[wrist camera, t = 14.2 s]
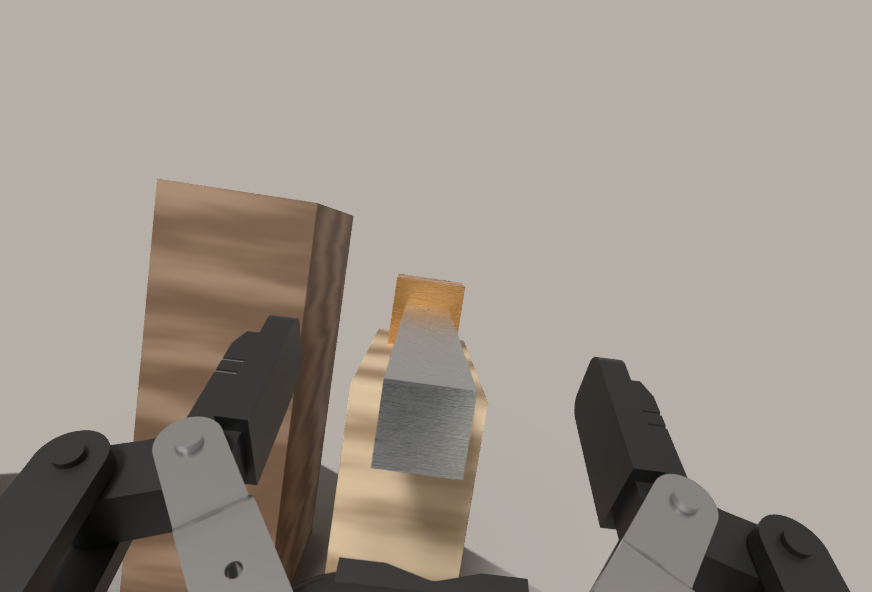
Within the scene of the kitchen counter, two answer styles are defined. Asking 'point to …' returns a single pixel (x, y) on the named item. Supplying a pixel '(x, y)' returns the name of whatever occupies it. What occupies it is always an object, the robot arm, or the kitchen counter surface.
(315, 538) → the kitchen counter surface
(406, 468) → the steel pin
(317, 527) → the kitchen counter surface
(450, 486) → the beige slab
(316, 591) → the robot arm
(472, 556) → the kitchen counter surface
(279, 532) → the walnut stand
